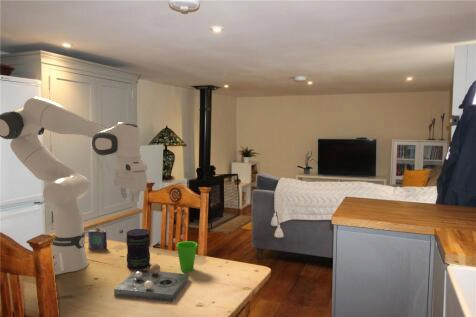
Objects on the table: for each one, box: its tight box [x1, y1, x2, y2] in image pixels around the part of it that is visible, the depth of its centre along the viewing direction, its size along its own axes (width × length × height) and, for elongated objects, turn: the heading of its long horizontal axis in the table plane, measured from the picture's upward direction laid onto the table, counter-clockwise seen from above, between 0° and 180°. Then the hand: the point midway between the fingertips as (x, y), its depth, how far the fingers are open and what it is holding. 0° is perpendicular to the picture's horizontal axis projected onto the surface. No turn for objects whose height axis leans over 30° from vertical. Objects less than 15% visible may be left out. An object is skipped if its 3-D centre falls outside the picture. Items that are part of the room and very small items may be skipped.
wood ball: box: [149, 263, 161, 274], centre depth 144 cm, size 4×4×4 cm
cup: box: [175, 240, 199, 273], centre depth 155 cm, size 9×9×11 cm
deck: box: [113, 269, 190, 303], centre depth 138 cm, size 22×18×2 cm
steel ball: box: [134, 271, 143, 280], centre depth 139 cm, size 3×3×3 cm
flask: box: [87, 226, 108, 250], centre depth 180 cm, size 9×3×11 cm, turn 84°
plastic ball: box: [144, 281, 153, 289], centre depth 131 cm, size 3×3×3 cm
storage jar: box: [125, 228, 151, 271], centre depth 158 cm, size 10×10×15 cm
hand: (129, 200), depth 142 cm, fingers open, 8 cm apart
